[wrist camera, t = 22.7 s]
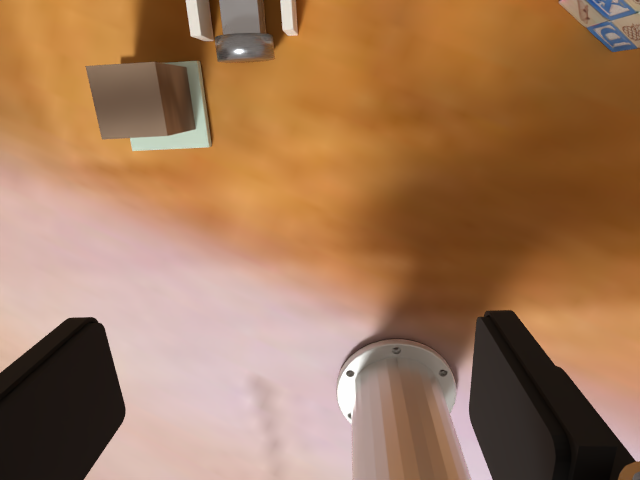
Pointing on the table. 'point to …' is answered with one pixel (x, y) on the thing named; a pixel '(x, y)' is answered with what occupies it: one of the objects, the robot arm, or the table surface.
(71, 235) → the table surface
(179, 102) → the block
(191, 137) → the pad
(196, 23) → the channel
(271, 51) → the rod
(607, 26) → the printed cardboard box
